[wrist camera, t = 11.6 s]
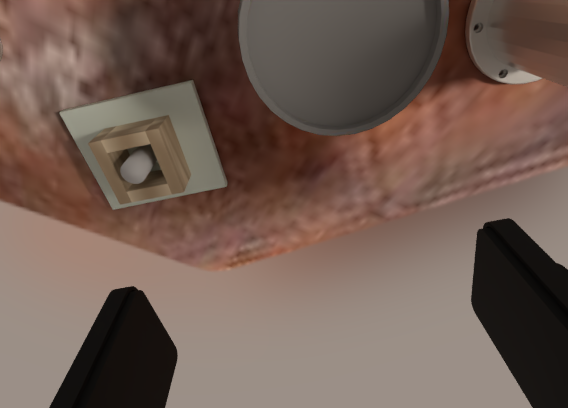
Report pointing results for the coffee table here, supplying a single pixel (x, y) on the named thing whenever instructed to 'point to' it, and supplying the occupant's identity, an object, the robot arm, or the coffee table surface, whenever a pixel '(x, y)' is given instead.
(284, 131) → the coffee table surface
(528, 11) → the robot arm
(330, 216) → the coffee table surface
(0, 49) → the coffee cup
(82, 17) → the coffee table surface
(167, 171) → the ring
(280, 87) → the reusable coffee cup
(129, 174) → the post block
